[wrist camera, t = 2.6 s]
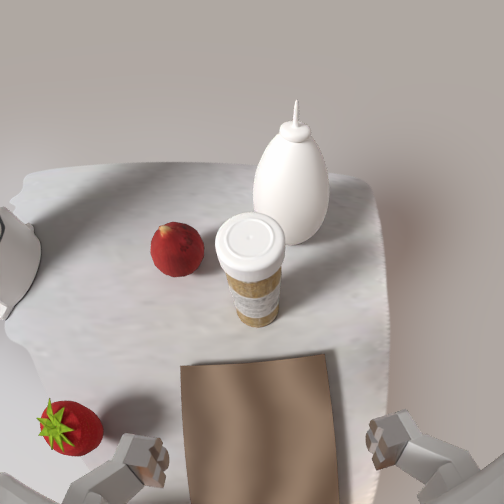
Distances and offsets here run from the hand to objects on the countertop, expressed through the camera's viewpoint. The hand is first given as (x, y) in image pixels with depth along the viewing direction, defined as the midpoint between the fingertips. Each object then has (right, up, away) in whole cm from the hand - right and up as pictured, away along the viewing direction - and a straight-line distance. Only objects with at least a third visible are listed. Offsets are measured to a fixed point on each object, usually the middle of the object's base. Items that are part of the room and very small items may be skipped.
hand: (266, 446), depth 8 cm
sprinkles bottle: (0, +1, +21) cm, 21 cm away
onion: (-8, +5, +24) cm, 26 cm away
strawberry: (-18, -13, +13) cm, 26 cm away
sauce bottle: (+4, +9, +25) cm, 27 cm away
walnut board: (0, -12, +12) cm, 17 cm away
